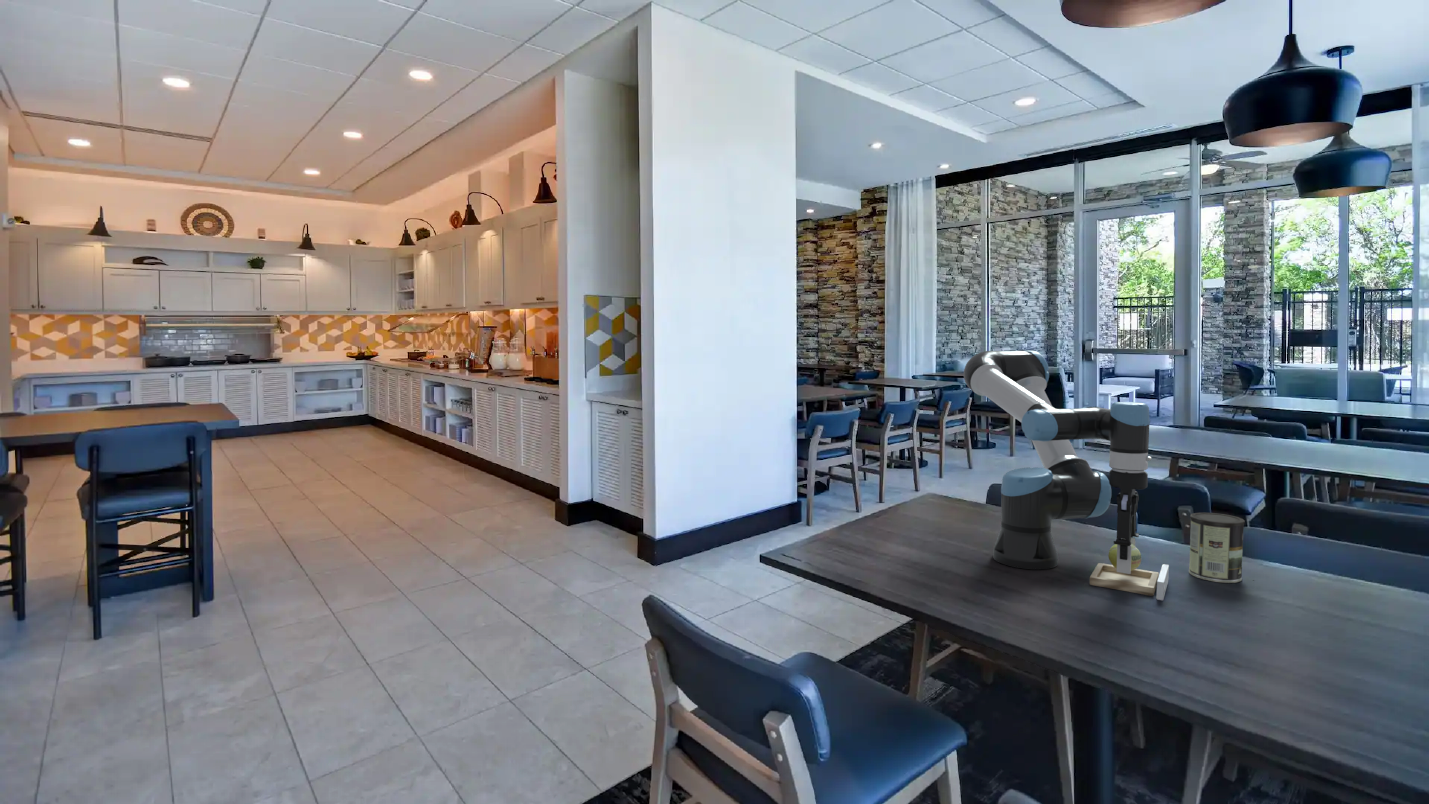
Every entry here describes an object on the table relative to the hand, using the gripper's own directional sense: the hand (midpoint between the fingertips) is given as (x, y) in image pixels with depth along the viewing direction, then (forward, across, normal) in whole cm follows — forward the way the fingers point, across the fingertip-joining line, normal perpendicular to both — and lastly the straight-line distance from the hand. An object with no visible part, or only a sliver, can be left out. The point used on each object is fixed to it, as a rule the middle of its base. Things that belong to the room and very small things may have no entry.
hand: (1125, 568), depth 157 cm
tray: (+3, 0, 0) cm, 3 cm away
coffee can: (+4, +17, -16) cm, 24 cm away
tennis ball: (0, 0, 0) cm, 1 cm away
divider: (+3, -1, -7) cm, 8 cm away
